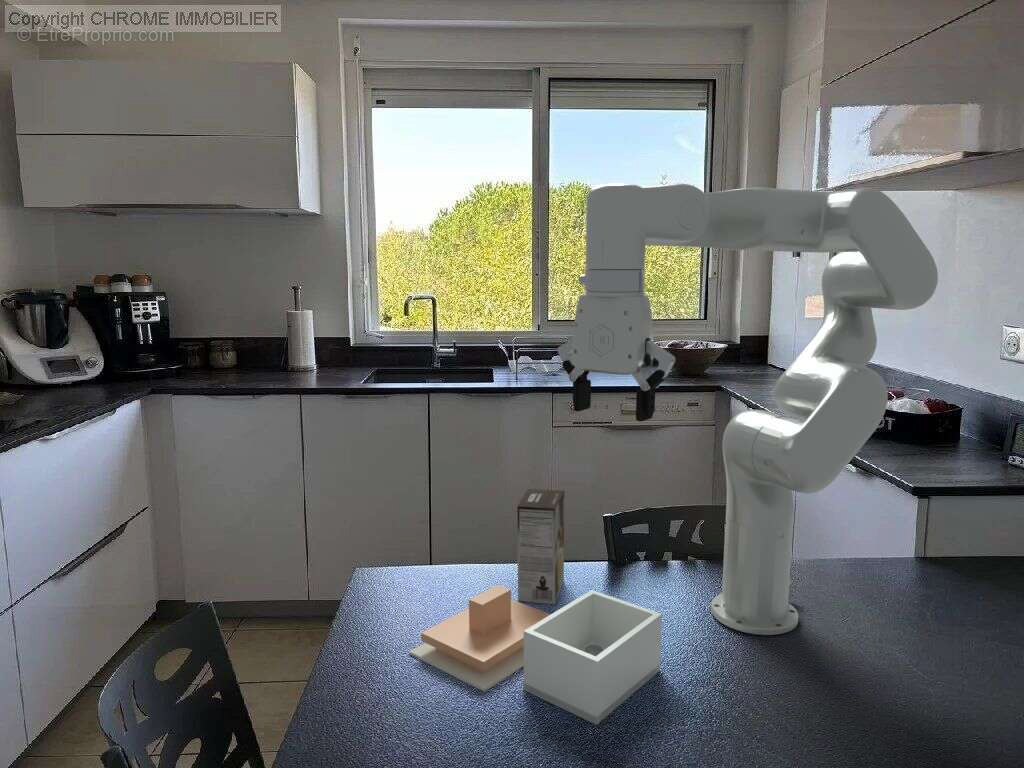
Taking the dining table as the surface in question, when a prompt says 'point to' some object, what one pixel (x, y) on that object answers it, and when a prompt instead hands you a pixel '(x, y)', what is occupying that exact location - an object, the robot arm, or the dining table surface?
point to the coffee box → (540, 546)
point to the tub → (592, 654)
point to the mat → (467, 672)
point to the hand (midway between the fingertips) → (612, 414)
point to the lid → (484, 629)
